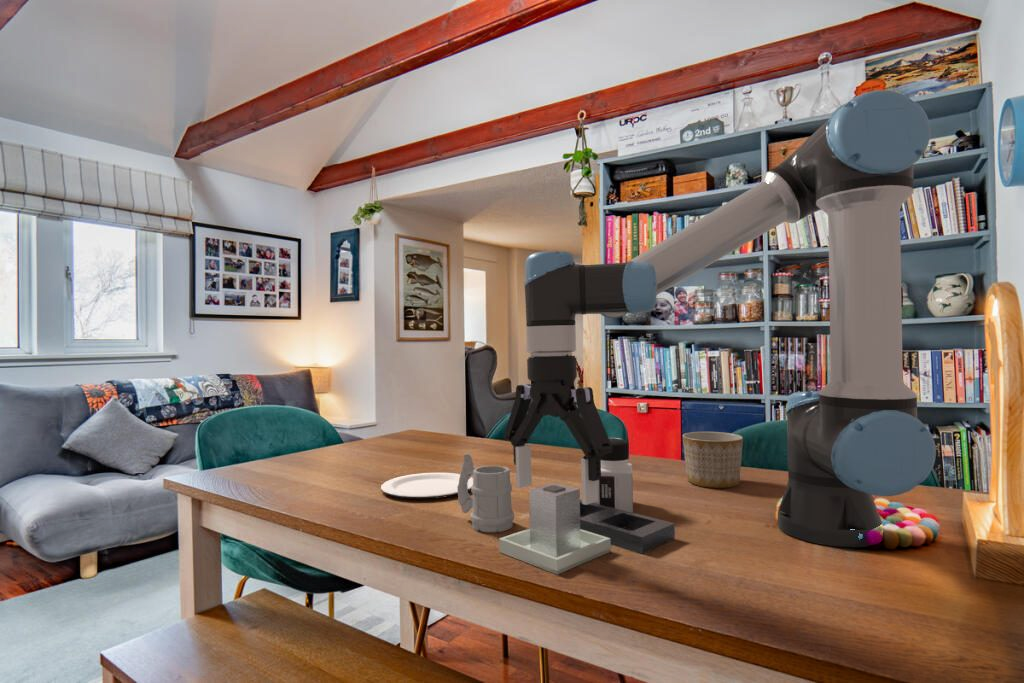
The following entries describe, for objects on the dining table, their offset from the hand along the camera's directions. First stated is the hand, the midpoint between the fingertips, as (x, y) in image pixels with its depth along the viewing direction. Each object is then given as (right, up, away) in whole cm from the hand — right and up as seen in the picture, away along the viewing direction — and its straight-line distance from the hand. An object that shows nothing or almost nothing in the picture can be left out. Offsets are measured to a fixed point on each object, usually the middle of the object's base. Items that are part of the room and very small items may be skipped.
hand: (555, 494), depth 86 cm
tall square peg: (0, -8, 0) cm, 8 cm away
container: (+13, -9, +23) cm, 28 cm away
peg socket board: (+8, -9, +10) cm, 16 cm away
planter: (+38, -9, +40) cm, 56 cm away
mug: (-12, -9, +14) cm, 20 cm away
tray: (0, -9, 0) cm, 9 cm away
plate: (-25, -10, +38) cm, 47 cm away
